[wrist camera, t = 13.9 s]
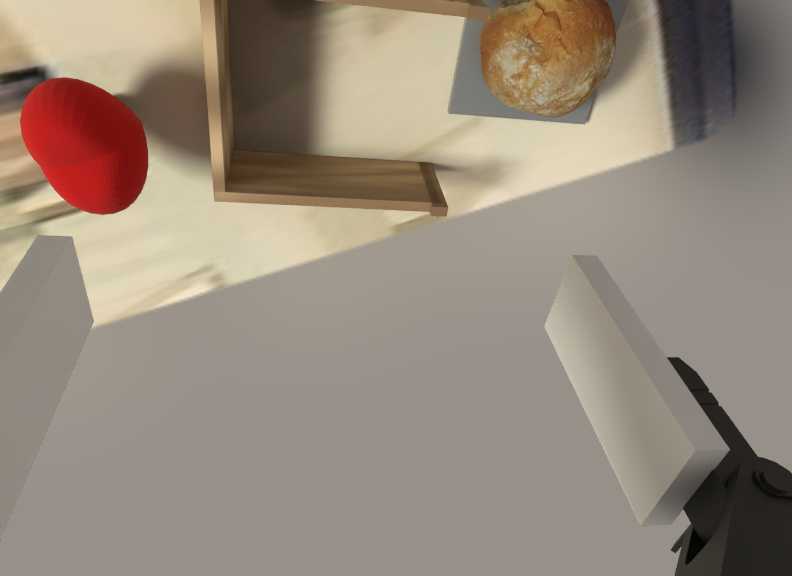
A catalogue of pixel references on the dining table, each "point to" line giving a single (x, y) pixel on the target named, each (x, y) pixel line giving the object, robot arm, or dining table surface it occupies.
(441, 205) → the box
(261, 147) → the dining table surface
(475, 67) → the slate board
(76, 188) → the red heart shape
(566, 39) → the bread roll
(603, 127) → the dining table surface
